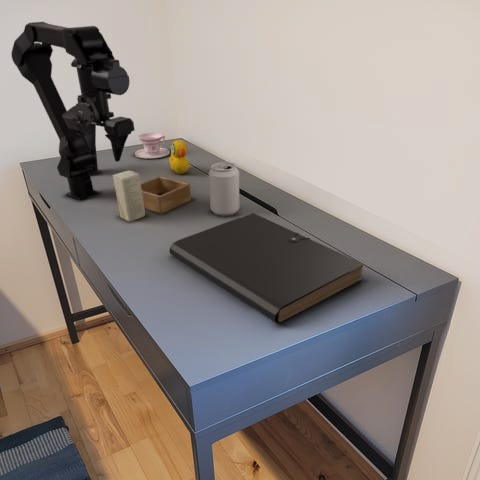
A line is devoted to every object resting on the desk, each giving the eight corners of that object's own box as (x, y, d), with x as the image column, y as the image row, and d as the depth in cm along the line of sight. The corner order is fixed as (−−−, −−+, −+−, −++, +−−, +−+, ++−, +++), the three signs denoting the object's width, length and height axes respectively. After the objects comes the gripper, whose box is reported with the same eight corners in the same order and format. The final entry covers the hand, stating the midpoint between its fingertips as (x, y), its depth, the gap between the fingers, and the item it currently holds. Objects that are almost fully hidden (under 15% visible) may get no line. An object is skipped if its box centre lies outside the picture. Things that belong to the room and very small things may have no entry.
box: (136, 211, 125) (130, 169, 119) (146, 216, 123) (140, 173, 116) (119, 217, 122) (111, 174, 116) (128, 222, 120) (121, 178, 113)
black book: (365, 262, 94) (275, 309, 81) (362, 280, 96) (274, 328, 84) (253, 211, 114) (168, 242, 102) (253, 227, 117) (170, 259, 104)
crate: (131, 204, 129) (128, 187, 127) (160, 191, 137) (159, 175, 134) (162, 213, 124) (160, 197, 121) (191, 200, 131) (189, 184, 129)
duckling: (194, 177, 146) (192, 143, 140) (177, 179, 145) (174, 145, 139) (183, 166, 155) (181, 134, 149) (167, 168, 153) (164, 136, 147)
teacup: (140, 161, 159) (137, 142, 156) (131, 151, 168) (128, 133, 165) (174, 156, 164) (173, 137, 160) (164, 147, 172) (162, 129, 169)
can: (236, 218, 121) (235, 170, 114) (207, 215, 123) (205, 169, 116) (241, 206, 127) (241, 161, 120) (214, 204, 128) (212, 159, 122)
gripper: (39, 91, 110) (54, 159, 119) (92, 100, 101) (105, 173, 110) (78, 83, 118) (90, 148, 127) (131, 92, 109) (140, 161, 118)
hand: (105, 157), depth 120 cm, fingers open, 9 cm apart
